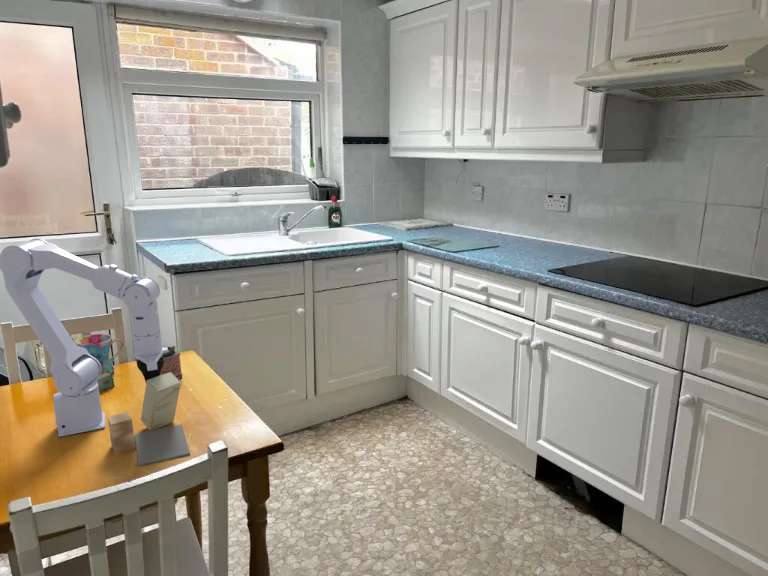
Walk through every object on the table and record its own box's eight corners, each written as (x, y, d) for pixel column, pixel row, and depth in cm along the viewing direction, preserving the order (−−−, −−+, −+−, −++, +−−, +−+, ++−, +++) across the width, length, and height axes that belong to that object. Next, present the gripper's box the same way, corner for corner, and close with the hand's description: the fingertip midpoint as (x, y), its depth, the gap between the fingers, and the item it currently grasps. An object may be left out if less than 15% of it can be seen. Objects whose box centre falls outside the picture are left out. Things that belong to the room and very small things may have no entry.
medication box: (109, 385, 156) (107, 371, 155) (115, 387, 154) (113, 373, 153) (65, 401, 146) (62, 387, 145) (71, 404, 144) (68, 389, 143)
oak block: (115, 454, 121) (111, 424, 119) (111, 446, 124) (107, 417, 122) (135, 448, 123) (131, 418, 121) (131, 440, 126) (127, 411, 124)
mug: (84, 384, 156) (78, 347, 153) (77, 373, 163) (72, 338, 160) (130, 373, 163) (126, 337, 160) (122, 363, 170) (117, 329, 167)
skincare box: (150, 432, 130) (156, 391, 124) (139, 420, 132) (145, 380, 126) (174, 421, 135) (182, 382, 129) (164, 409, 136) (170, 370, 131)
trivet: (138, 466, 116) (138, 464, 116) (135, 435, 128) (134, 433, 128) (190, 454, 120) (189, 452, 120) (181, 425, 132) (181, 424, 132)
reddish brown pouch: (177, 374, 161) (174, 341, 159) (185, 377, 160) (181, 343, 157) (152, 384, 155) (147, 349, 153) (159, 387, 153) (155, 352, 151)
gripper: (169, 339, 123) (175, 397, 126) (162, 321, 136) (168, 374, 139) (133, 344, 120) (141, 404, 123) (130, 325, 133) (137, 379, 136)
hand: (153, 388), depth 131 cm, fingers closed
